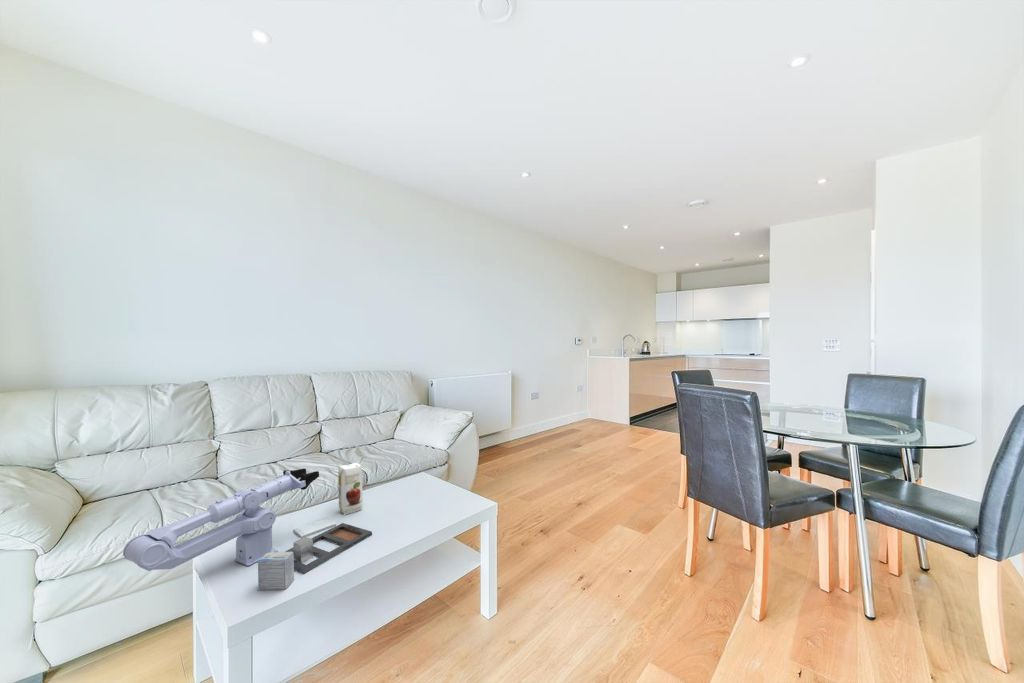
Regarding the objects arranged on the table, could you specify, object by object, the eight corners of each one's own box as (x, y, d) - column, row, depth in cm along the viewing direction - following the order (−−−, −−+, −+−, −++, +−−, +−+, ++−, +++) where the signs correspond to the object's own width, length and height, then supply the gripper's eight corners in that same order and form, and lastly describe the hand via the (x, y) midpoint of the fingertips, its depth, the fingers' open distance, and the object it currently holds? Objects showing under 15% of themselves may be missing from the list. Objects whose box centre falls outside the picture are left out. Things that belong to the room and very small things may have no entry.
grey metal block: (301, 564, 118) (301, 545, 119) (293, 560, 120) (293, 542, 120) (313, 557, 122) (312, 539, 122) (305, 554, 124) (305, 536, 124)
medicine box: (294, 580, 110) (294, 550, 110) (286, 590, 106) (285, 559, 106) (267, 581, 110) (267, 551, 110) (257, 591, 105) (257, 560, 105)
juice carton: (337, 510, 157) (336, 465, 158) (358, 504, 163) (357, 461, 163) (343, 516, 152) (342, 469, 152) (364, 510, 157) (363, 465, 158)
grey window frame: (304, 573, 113) (303, 570, 113) (273, 561, 120) (273, 557, 120) (372, 534, 136) (371, 531, 136) (342, 526, 143) (342, 522, 143)
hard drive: (327, 517, 149) (293, 528, 140) (336, 523, 144) (301, 535, 134) (327, 521, 149) (293, 533, 140) (336, 527, 144) (301, 540, 134)
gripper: (286, 479, 126) (323, 464, 138) (262, 473, 132) (299, 459, 144) (288, 499, 126) (325, 483, 138) (264, 492, 133) (300, 477, 145)
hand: (311, 472), depth 141 cm, fingers open, 7 cm apart
